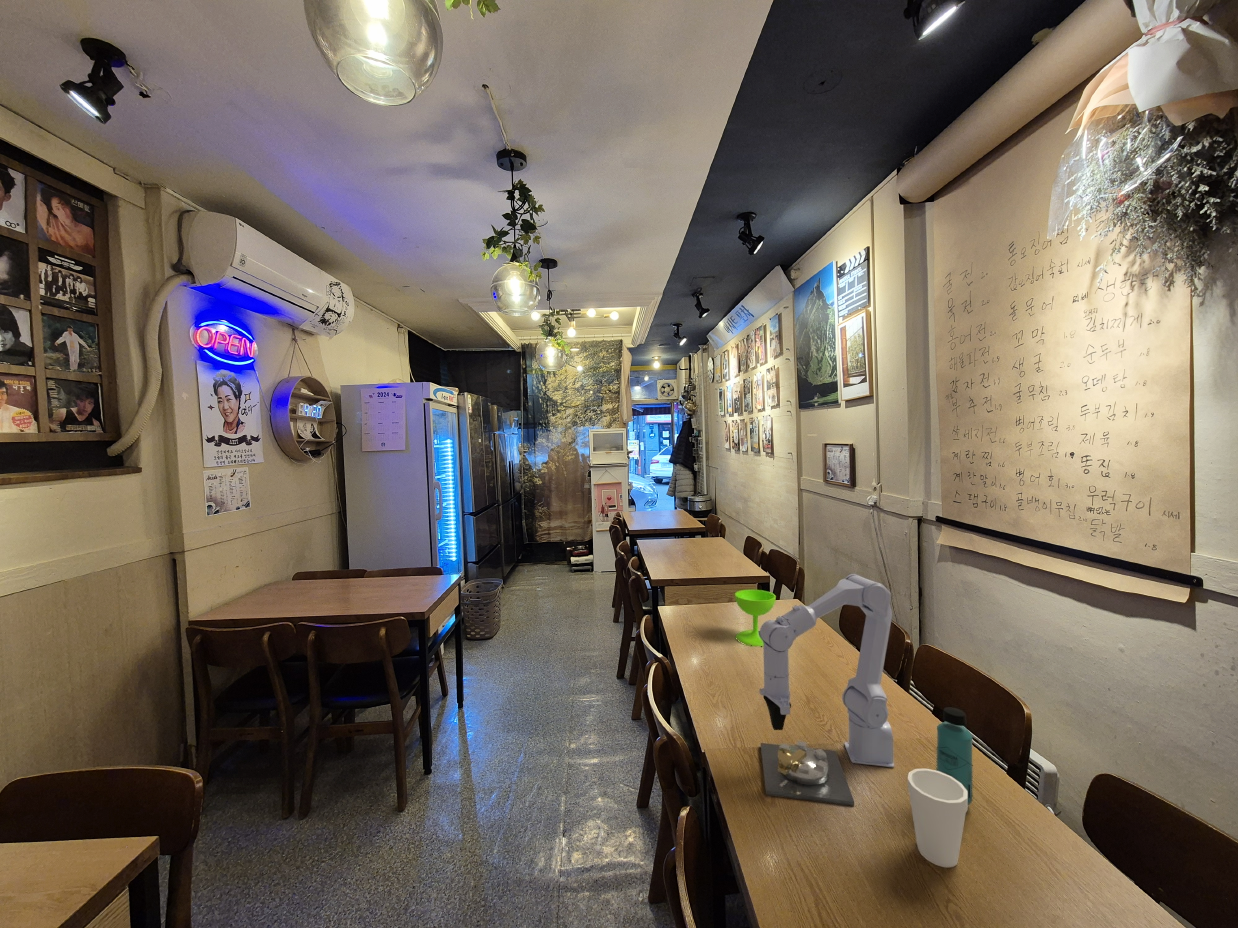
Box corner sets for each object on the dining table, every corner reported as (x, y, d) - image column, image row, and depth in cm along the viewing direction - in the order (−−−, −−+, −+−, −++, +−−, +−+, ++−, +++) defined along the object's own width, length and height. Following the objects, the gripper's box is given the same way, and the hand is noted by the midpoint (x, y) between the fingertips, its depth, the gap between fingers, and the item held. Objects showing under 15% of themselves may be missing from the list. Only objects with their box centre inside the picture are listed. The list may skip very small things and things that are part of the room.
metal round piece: (792, 748, 121) (792, 719, 121) (836, 769, 113) (836, 738, 113) (760, 775, 111) (759, 744, 111) (805, 800, 103) (804, 766, 103)
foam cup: (944, 832, 95) (944, 767, 95) (981, 873, 86) (981, 801, 86) (897, 834, 95) (896, 769, 95) (929, 875, 86) (928, 803, 86)
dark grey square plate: (835, 754, 120) (835, 750, 120) (854, 805, 103) (854, 800, 103) (760, 746, 124) (760, 742, 124) (766, 794, 107) (766, 789, 107)
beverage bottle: (938, 788, 108) (937, 699, 108) (974, 801, 104) (974, 708, 103) (934, 804, 103) (933, 711, 102) (972, 819, 99) (972, 722, 98)
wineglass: (727, 636, 200) (726, 592, 200) (757, 629, 207) (757, 587, 206) (753, 649, 185) (752, 603, 185) (785, 642, 192) (784, 597, 192)
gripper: (752, 659, 123) (753, 712, 124) (767, 687, 109) (768, 746, 109) (780, 659, 123) (781, 712, 123) (799, 686, 109) (800, 746, 109)
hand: (777, 728), depth 116 cm, fingers closed
